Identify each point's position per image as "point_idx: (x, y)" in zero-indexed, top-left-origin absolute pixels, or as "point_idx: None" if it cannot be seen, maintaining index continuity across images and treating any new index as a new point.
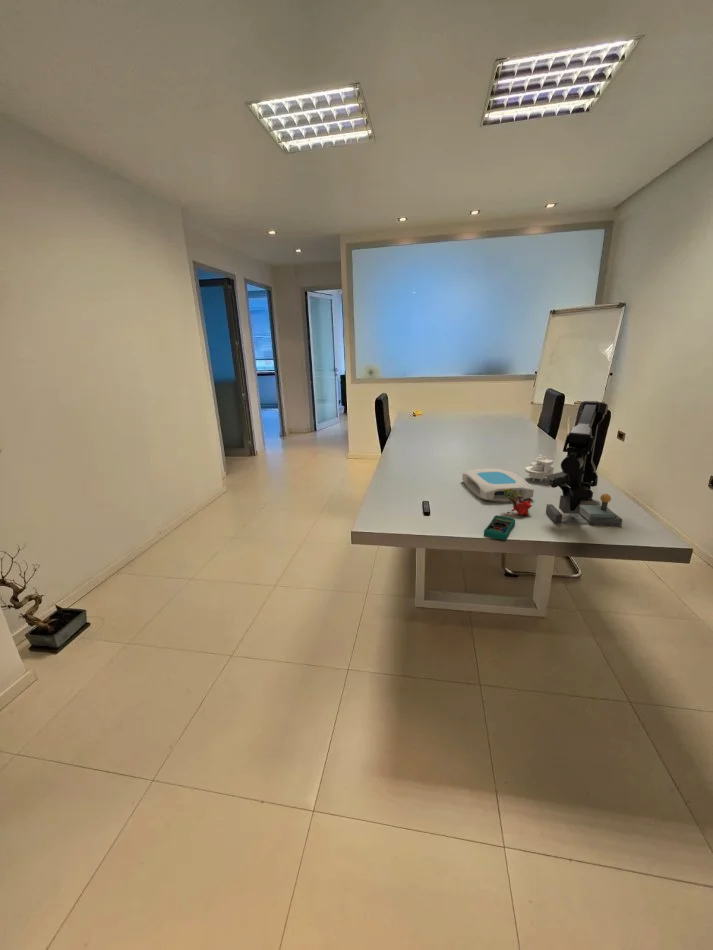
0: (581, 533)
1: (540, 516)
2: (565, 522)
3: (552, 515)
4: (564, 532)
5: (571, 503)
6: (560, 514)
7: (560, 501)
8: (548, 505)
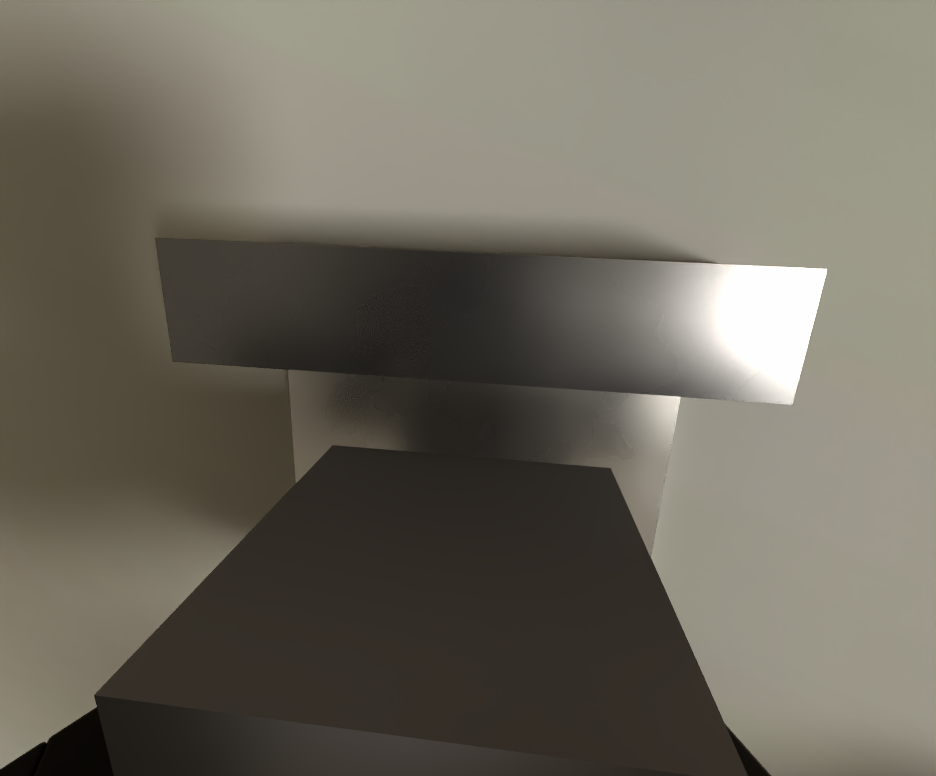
0: (41, 453)
1: (567, 102)
2: (291, 398)
3: (390, 248)
4: (10, 259)
5: (56, 734)
6: (196, 334)
7: (596, 572)
8: (733, 280)
